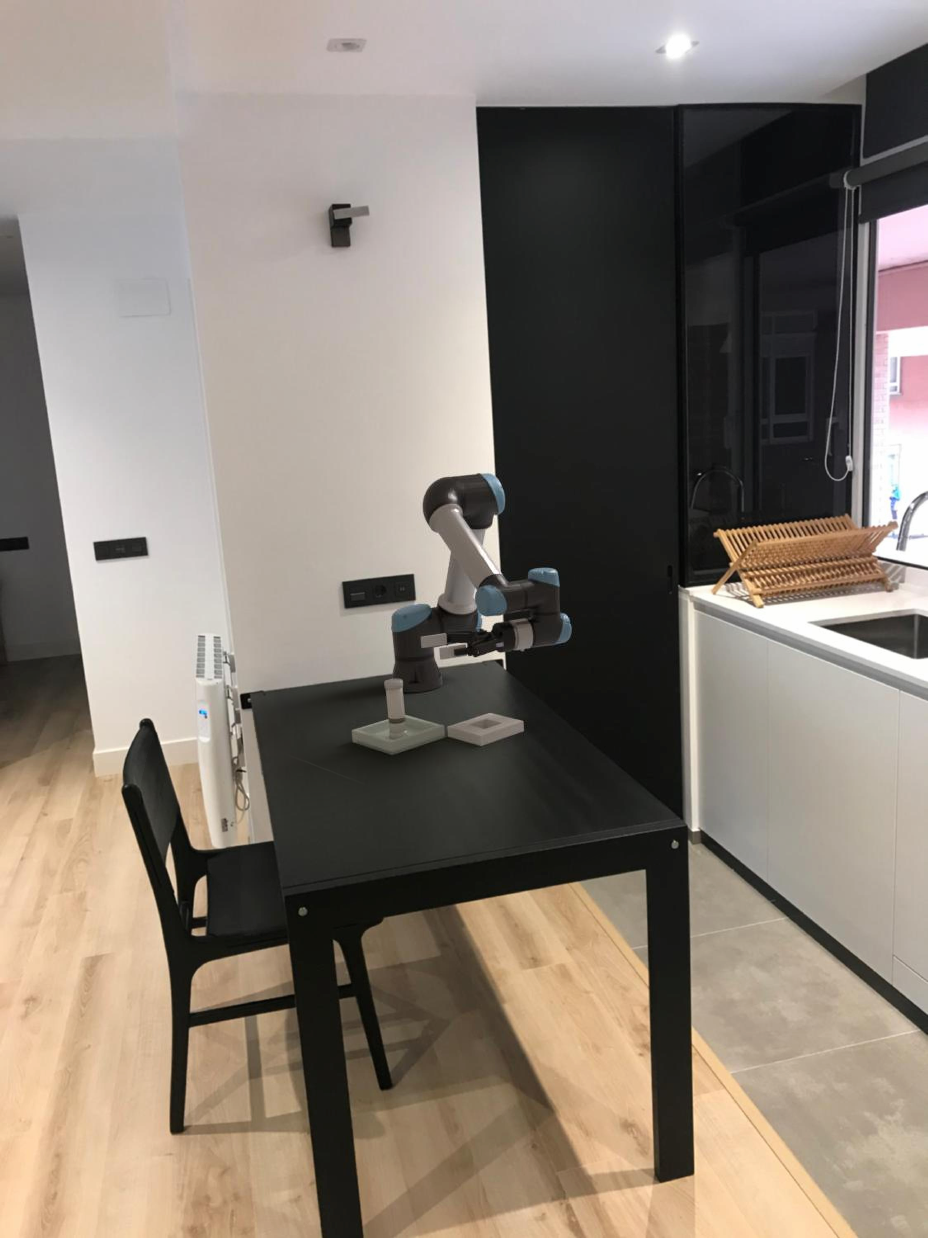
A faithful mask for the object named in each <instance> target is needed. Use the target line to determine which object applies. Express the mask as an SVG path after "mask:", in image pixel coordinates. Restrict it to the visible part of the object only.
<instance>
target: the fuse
mask: <svg viewBox="0 0 928 1238" xmlns="http://www.w3.org/2000/svg"><path fill="white" fill-rule="evenodd" d="M383 684H384V689H385V693H386V694H385V695H386V696H385V698H386V706H387V717H388V721H389V729H390V731H389V738H390V739H394V740H395V739H398V738H401V737H404V736H407V729H406V722H405V721H406V720H405V715H406V714H405V713H406V712H405V704H404V703H405V702H404V701H405V700H404V692H403V688H402V687H403V680H402V679H391V678H389V679H385V680H384V683H383Z"/></svg>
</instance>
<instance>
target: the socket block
mask: <svg viewBox="0 0 928 1238" xmlns="http://www.w3.org/2000/svg"><path fill="white" fill-rule="evenodd" d="M446 728H447V737H448V738H452V739H455V740H459V741H462V742H466V743H469V744H472V745H475V746H476V745H477V746H479V747H482V746H485V745H488V744H491V743H494V742H496V741H499V740H503V739H505V738H508V737H510V736H514V735H517V734H520V733H522V732H524V731H525V726H524V721H523V720H520V719H516V718H512V717H509V716H505V715H501V714H496V713H491V712H489V713H485V714H482V715H478V716H476V717H474V718H469V719H466V720H464V721H460V722H457V723H455V724H451V725H448V726H447V727H446Z"/></svg>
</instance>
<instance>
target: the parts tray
mask: <svg viewBox="0 0 928 1238" xmlns="http://www.w3.org/2000/svg"><path fill="white" fill-rule="evenodd" d="M405 720H406V721H405V722H406V729H407V736H404V737H401V738H398V739H395V740H394V739H390V738H389V731H390V729H389V721H388V719H385V720H380V721H378V722H375V723H370V724H368V725H364V726H361V727H358V728H354V729H351V739H352V743H354V744H358V745H360V746H364V747H366V748H369V749H372V750H375V751H378V752H382V753H385V754H387V755H391V756H394V755H397V754H399V753H402V752H405V751H409V750H412V749H416V748H418V747H420V746H423V745H427V744H430V743H433V742H436V741H439V740H442V739H445V738H446V734H445V733H446V732H445V725H443V724H439V723H436V722H432V721H428V720H425V719H421V718H418V717H414V716H410V715H407V714H405Z"/></svg>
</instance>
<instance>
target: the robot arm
mask: <svg viewBox="0 0 928 1238" xmlns="http://www.w3.org/2000/svg"><path fill="white" fill-rule="evenodd" d="M505 496H506V495H505V491H504V489H503V485H502V484H501V482H500V480H499V478H498V477H496V475H494V474H493V473H489V472H487V473H479V472H478V473H473V474H465V475H455V476H444V477H441V478H440V477H439V478H438V479H436V480H435V481H433V482H432V483H431V484H430V485H429V486H428V488H427V489H426V490H425V493H424V495H423V499H422V514H423V517H424V520H425V521H426V524H427V525H428V527H429V529H431V531H433V533H437V534H438V535H439V536H440V537H441V539H442V540H443V542H444V544H445V545H446V547H447V548H448V549H449V551H450V554H449V555H450V556H449V562H448V568H447V573H446V580H445V585H444V592H443V593H441V594H440V595H439V596H438V598H437V603H436V606H434V607H431V606H430V605H429V603H428V604H427V603H417V604H412V605H411V604H410V605H407V606H403V607H401V608H399V609H397V610H395V611H394V612H393V613H392V615H391V627H390V628H391V629H390V630H391V634H392V635H391V636H392V645H393V646H392V647H393V653H394V657H393V658H394V664H393V668H392V675H391V678H390V679H402V680H403V687H402V688H403V693H423V692H429V691H432V690H435V689H438V688H440V687H442V686H443V683H444V681H443V676H442V674H441V671H440V668H439V666H438V664H437V660H436V659H435V658H436V657H435V648H438V647H439V648H438V650H439V651H438V652H439V660H441V661H442V660H447V659H448V660H449V659H455V658H461V657H466V656H468V657H473V658H479V657H481V656H484V655H486V654H487V655H488V654H490V653H494V652H497V653H501V654H502V653H509V652H512V651H521V652H524V651H525V649H531V648H539V647H547V646H554V645H558V644H562V643H566V642H567V641H569V640H570V638H571V635H572V624H571V621H570V617H568V615H567V614H566V613H563V612H561V609H560V605H561V604H560V579H559V573H558V571H557V570H556V569H555V568H551V567H539V568H538V567H537V568H533V569H530V570H529V571H528V573H527V578H526V579H522V580H521V579H520V580H514V581H508V580H507V579H506V577H505V576H504V574H503V573H502V572H501V570H500V568H499V567H498V566H497V564H496V563H495V562H494V560H493V559H492V557H491V556H490V554H489V553H488V552H487V550H486V549H485V547H484V546H483V545H484V540H485V535H486V530H488V529H490V528H491V527H492V526H493V522H494V516H499V515H500V514H502V513H503V511H504V510H505V505H506V497H505ZM524 611H529V613H530V617H528V618H527V617H526V618H519V619H512V620H509V621H508V620H506V621H500V622H499V621H498V622H495V623H494V624H493V625H492V626H491V630H490V631H488V630H487V629H483V628H482V627H483V618H482V616H484V617H488V618H489V617H497V616H498V617H499V616H502V615H507V614H513V613H517V612H524ZM454 644H456V645H454ZM457 644H458V645H457ZM450 645H451V646H450ZM444 646H445V647H444Z"/></svg>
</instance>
